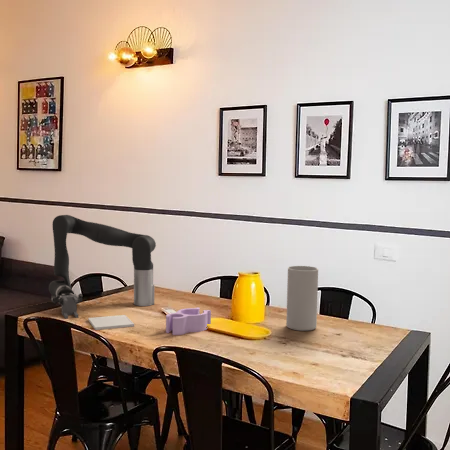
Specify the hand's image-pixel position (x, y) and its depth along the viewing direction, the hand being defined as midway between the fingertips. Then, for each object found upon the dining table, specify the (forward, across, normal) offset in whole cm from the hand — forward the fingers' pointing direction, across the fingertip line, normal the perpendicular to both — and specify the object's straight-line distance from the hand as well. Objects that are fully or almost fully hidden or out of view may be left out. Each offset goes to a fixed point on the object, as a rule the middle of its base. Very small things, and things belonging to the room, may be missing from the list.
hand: (70, 301), depth 250 cm
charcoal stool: (0, 0, +6) cm, 6 cm away
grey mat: (+19, +14, +6) cm, 24 cm away
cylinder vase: (+52, +87, +6) cm, 102 cm away
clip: (+38, +41, +6) cm, 57 cm away
